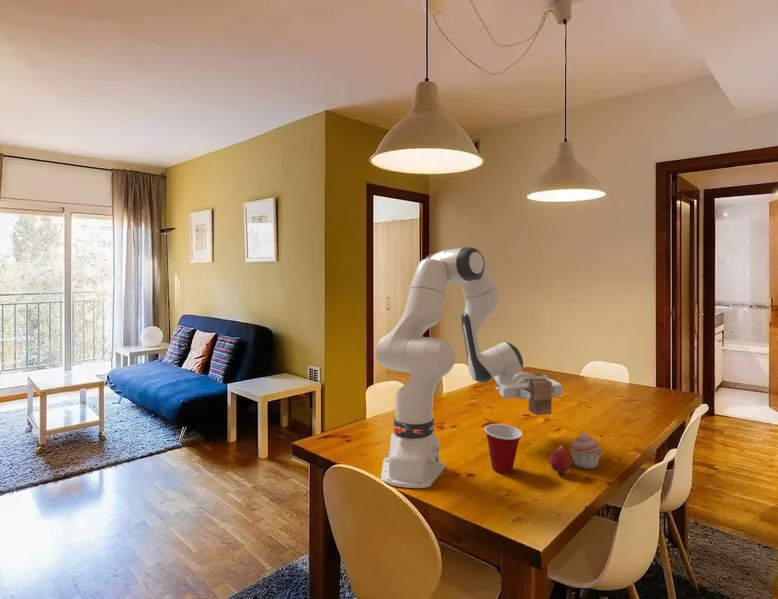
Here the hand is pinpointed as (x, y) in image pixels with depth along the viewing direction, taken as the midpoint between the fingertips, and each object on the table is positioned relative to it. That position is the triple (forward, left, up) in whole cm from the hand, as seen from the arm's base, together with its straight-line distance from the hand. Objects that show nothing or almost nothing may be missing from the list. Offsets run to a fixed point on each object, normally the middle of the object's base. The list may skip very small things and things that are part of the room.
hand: (541, 395), depth 144 cm
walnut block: (+1, 0, -5) cm, 6 cm away
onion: (-10, -5, -20) cm, 23 cm away
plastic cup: (-11, +11, -20) cm, 26 cm away
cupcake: (-2, -13, -20) cm, 24 cm away
